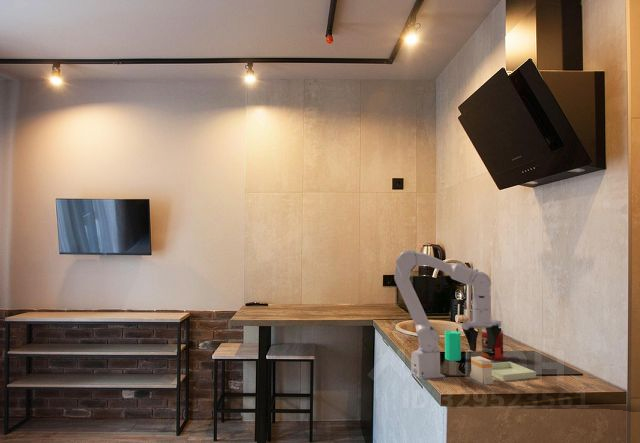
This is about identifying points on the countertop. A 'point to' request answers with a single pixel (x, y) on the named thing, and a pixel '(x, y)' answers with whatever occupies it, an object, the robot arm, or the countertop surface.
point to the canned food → (492, 353)
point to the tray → (511, 371)
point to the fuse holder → (486, 381)
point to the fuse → (481, 369)
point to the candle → (452, 345)
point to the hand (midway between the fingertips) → (482, 349)
